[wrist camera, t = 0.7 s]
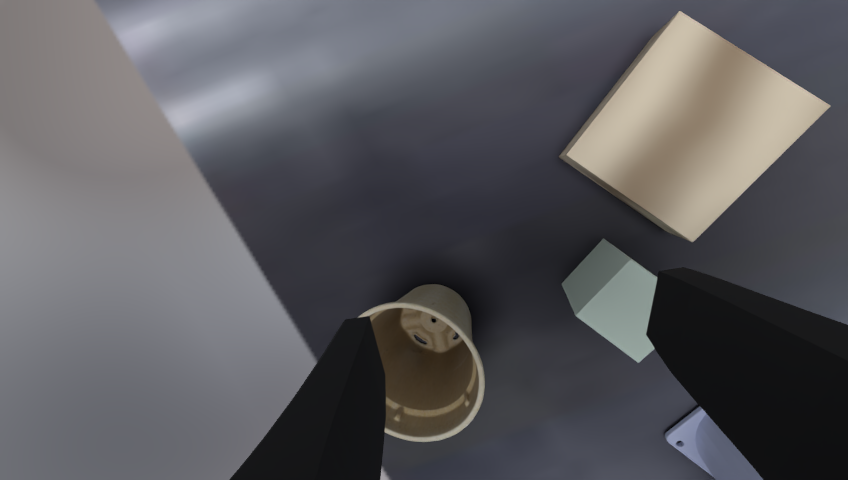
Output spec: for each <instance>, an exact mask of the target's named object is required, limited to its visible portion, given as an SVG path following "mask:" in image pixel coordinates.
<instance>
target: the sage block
mask: <svg viewBox="0 0 848 480" xmlns="http://www.w3.org/2000/svg"><path fill="white" fill-rule="evenodd" d="M657 278H658V277H656V276H655V275H653V274H652V273H651V272H649V271H648V270H647V269H645V268H644V267H642V266H641V265H640V264H638V263H637V262H636V261H634V260H633V259H631V258H630V257H629V256H627V255H626V254H624V253H623V252H622V251H620V250H619V249H618V248H616V247H615V246H613V245H612V244H611V243H609V242H608V241H607V240H605V239H604V238H603V239H602V240H601V242H600V243H599V244H598V245H597V246H596V247H595V248H594V249H593V250H592V251H591V252H590V253H589V255H588V256H587V257H586V258H585V259H584V260H583V261H582V262H581V263H580V264H579V265H578V266H577V267H576V269H575V270H574V271H573V272H572V273H571V274H570V275H569V276H568V277H567V278H566V279H565V280H564V281H563V283H562V286H563V289H564V291H565V293H566V296H567V298H568V300H569V302H570V305H571V307H572V309H573V311H574V314H575V316H576V317H578V318H579V319H580V320H582V321H583V322H584V323H586V324H587V325H588V326H590V327H591V328H592V329H594V330H595V331H596V332H598V333H599V334H600V335H602V336H603V337H604V338H606V339H607V340H608V341H610V342H611V343H612V344H614V345H615V346H616V347H618V348H619V349H620V350H622V351H623V352H624V353H626V354H627V355H628V356H630V357H631V358H632V359H634V360H635V361H636V362H638V363H639V362H640V361H641V360H642V359H643V358H645V357H646V356H647V355H648V354H649V353H650V352H651V351H653V350H654V349H655V348H654V346H653V345H652V343H651V342H650V340H649V338H648V337H647V335H646V332H647V327H648V322H649V317H650V312H651V307H652V302H653V298H654V293H655V288H656V283H657Z"/></svg>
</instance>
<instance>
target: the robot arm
mask: <svg viewBox="0 0 848 480" xmlns="http://www.w3.org/2000/svg"><path fill="white" fill-rule="evenodd" d="M646 335H647V337H648V338H649V340H650V342H651V343H652V345H653V346H654V348H655V349H656V351H657V353H658V354H659V356H660V357H661V358H662V360H663V361H664V363H665V364H666V366H667V367H668V368H669V370H670V371H671V373H672V374H673V375H674V376H675V377H676V379H677V380H678V381H679V382H680V383H681V385H682V386H683V387H684V388H685V389H686V390H687V392H688V393H689V394H690V395H691V396H692V397H693V399H694V400H695V401H696V402H697V403H698V404H699V407H698V408H697V409H696V410H694V411H693V412H692V413H690V414H689V415H688V416H687V417H685V418H684V419H683V420H681V421H680V422H679V423H678V424H676V425H675V426H674V427H672V428H671V429H670V430H669V431H667V432H666V433H665V438H666V440H667V441H668V443H670V444H671V445H672V446H673V447H675V448H676V449H677V450H679V451H680V452H681V453H683V454H684V455H685V456H687V457H688V458H689V459H690V460H692V461H693V462H694V463H696V464H697V465H698V466H700V467H701V468H702V469H704V470H705V471H706V472H707V473H709V474H710V475H711V476H713V477H714V478H715V480H848V325H846V324H843V323H841V322H838V321H835V320H832V319H829V318H826V317H823V316H821V315H818V314H815V313H812V312H809V311H806V310H804V309H801V308H798V307H795V306H793V305H790V304H787V303H784V302H782V301H779V300H776V299H773V298H771V297H768V296H765V295H763V294H760V293H757V292H754V291H752V290H749V289H746V288H743V287H741V286H738V285H735V284H732V283H730V282H727V281H724V280H721V279H718V278H716V277H713V276H710V275H707V274H704V273H701V272H697V271H694V270H691V269H687V268H684V267H683V268H677V269H670V270H664V271H659V273H658V278H657V283H656V288H655V293H654V298H653V302H652V307H651V312H650V317H649V322H648V327H647V332H646ZM385 421H386V381H385V371H384V368H383V364H382V360H381V357H380V353H379V349H378V346H377V342H376V338H375V335H374V331H373V327H372V324H371V320H370V316H366V317H359V318H353V319H346V320H345V321H344V322H343V323H342V325H341V326H340V328H339V329H338V331H337V332H336V334H335V336H334V337H333V339H332V340H331V342H330V344H329V345H328V347H327V348H326V350H325V352H324V353H323V355H322V356H321V358H320V359H319V361H318V362H317V364H316V366H315V367H314V369H313V370H312V371H311V373H310V374H309V376H308V377H307V379H306V380H305V382H304V384H303V385H302V386H301V388H300V389H299V391H298V392H297V394H296V395H295V397H294V398H293V399H292V401H291V402H290V404H289V405H288V406H287V408H286V409H285V410H284V411H283V413H282V414H281V416H280V417H279V418H278V419H277V421H276V422H275V424H274V425H273V426H272V428H271V429H270V430H269V432H268V433H267V434H266V436H265V437H264V438H263V440H262V441H261V442H260V443H259V444H258V446H257V447H256V448H255V450H254V451H253V452H252V453H251V455H250V456H249V457H248V458H247V459H246V461H245V462H244V463H243V464H242V466H241V467H240V468H239V469H238V470H237V472H236V473H235V474H234V475H233V476H232V477H231V479H230V480H380V476H381V465H382V454H383V444H384V432H385ZM677 441H681V442H680V443H676V442H677Z"/></svg>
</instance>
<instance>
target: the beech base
mask: <svg viewBox="0 0 848 480" xmlns="http://www.w3.org/2000/svg"><path fill="white" fill-rule="evenodd" d="M829 107H830V105H828V104H827V103H825V102H824V101H822V100H820V99H819V98H817V97H816V96H814V95H813V94H811V93H809V92H808V91H806V90H805V89H803V88H801V87H800V86H798V85H797V84H795V83H793V82H792V81H790V80H789V79H787V78H785V77H784V76H782V75H781V74H779V73H778V72H776V71H774V70H773V69H771V68H770V67H768V66H766V65H765V64H763V63H762V62H760V61H758V60H757V59H755V58H754V57H752V56H751V55H749V54H747V53H746V52H744V51H743V50H741V49H739V48H738V47H736V46H735V45H733V44H731V43H730V42H728V41H727V40H725V39H723V38H722V37H720V36H719V35H717V34H716V33H714V32H712V31H711V30H709V29H708V28H706V27H704V26H703V25H701V24H700V23H698V22H696V21H695V20H693V19H692V18H690V17H689V16H687V15H685V14H684V13H682V12H681V11H679V12H678V13H677V14H676V15H675V16H674V17H673V18H672V19H671V20H670V21H669V22H668V23H666V24H665V25H664V26H663V27H662V28H661V29H660V30H659V31H658V32H657V33H656V34H655V35H654V36H653V37H652V38H651V39H650V41H649V42H648V43H647V44H646V46H645V47H644V48H643V49H642V51H641V52H640V53H639V55H638V56H637V57H636V58H635V60H634V61H633V62H632V64H631V65H630V66H629V67H628V69H627V70H626V71H625V72H624V74H623V75H622V76H621V78H620V79H619V80H618V81H617V83H616V84H615V85H614V87H613V88H612V89H611V90H610V92H609V93H608V94H607V95H606V97H605V98H604V99H603V101H602V102H601V103H600V104H599V106H598V107H597V108H596V110H595V111H594V112H593V113H592V115H591V116H590V117H589V118H588V120H587V121H586V122H585V124H584V125H583V126H582V127H581V129H580V130H579V131H578V133H577V134H576V135H575V136H574V138H573V139H572V140H571V141H570V143H569V144H568V145H567V147H566V148H565V149H564V150H563V152H562V153H561V154H560V155H559V158H561V159H562V160H564V161H565V162H566V163H568V164H569V165H571V166H572V167H574V168H575V169H577V170H578V171H579V172H581V173H582V174H584V175H585V176H587V177H588V178H590V179H591V180H592V181H594V182H595V183H597V184H598V185H600V186H601V187H603V188H604V189H605V190H607V191H608V192H610V193H611V194H613V195H614V196H616V197H617V198H618V199H620V200H621V201H623V202H624V203H626V204H627V205H629V206H630V207H631V208H633V209H634V210H636V211H637V212H639V213H640V214H642V215H643V216H644V217H646V218H647V219H649V220H650V221H652V222H653V223H655V224H656V225H657V226H659V227H660V228H662V229H663V230H665V231H666V232H669V233H671V234H674V235H676V236H679V237H681V238H683V239H686V240H688V241H691V242H694V241H695V240H696V239H697V238H698V237H699V236H700V235H701V234H702V233H703V232H704V231H705V230H706V229H707V228H708V227H709V226H710V225H711V224H712V223H713V222H714V221H715V220H716V219H717V218H718V217H719V216H720V215H721V214H722V213H723V212H724V211H725V210H726V209H727V208H728V207H729V206H730V205H731V204H732V203H733V202H734V201H735V200H736V199H737V198H738V197H739V196H740V195H741V194H742V193H743V192H744V191H745V190H746V189H747V188H748V187H749V186H750V185H751V184H752V183H753V182H754V181H755V180H756V179H757V178H758V177H759V176H760V175H761V174H762V173H763V172H764V171H765V170H766V169H767V168H768V167H769V166H770V165H771V164H772V163H773V162H774V161H775V160H776V159H777V158H779V157H780V156H781V155H782V154H783V153H784V152H785V151H786V150H787V149H788V148H789V147H790V146H791V145H792V144H793V143H794V142H795V141H796V140H797V139H798V138H799V137H800V136H801V135H802V134H803V133H804V132H805V131H806V130H807V129H808V128H809V127H810V126H811V125H812V124H813V123H814V122H815V121H816V120H817V119H818V118H819V117H820V116H821V115H822V114H823V113H824V112H825V111H826V110H827V109H828V108H829Z"/></svg>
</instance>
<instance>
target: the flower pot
mask: <svg viewBox="0 0 848 480" xmlns="http://www.w3.org/2000/svg"><path fill="white" fill-rule="evenodd" d="M366 316H370V320H371V324H372V327H373V331H374V335H375V338H376V342H377V346H378V349H379V353H380V357H381V360H382V364H383V368H384V371H385V381H386V421H385V432H386V433H387V434H390V435H392V436H395V437H398V438H401V439H405V440H410V441H416V442H417V441H418V442H429V441H438V440H442V439H445V438H448V437H451V436H453V435H455V434H457V433H458V432H460V431H461V430H462V429H464V428H465V427H466V426H468V424H469V423H470V422H471V421H472V420H473V418H474V417H475V415H476V414H477V412H478V410H479V408H480V406H481V403H482V401H483V396H484V389H485V376H484V369H483V364H482V361H481V358H480V356H479V353H478V351H477V349H476V347H475V345H474V344H473V341H472V327H471V323H472V321H471V314H470V311H469V308H468V306H467V304H466V303H465V301H464V300H463V299H462V297H461V296H460V295H459V294H457V293H456V292H455V291H453V290H452V289H450V288H448V287H445V286H443V285H438V284H429V285H422V286H419V287H416V288H414V289H413V290H411V291H410V292H409V293H408V294H406V295H405V296H403V297H402V298H400V299H399V300H397V301H396V302H390V303H385V304H382V305H379V306H376V307H374V308H372V309H370V310H368V311H366V312H364V313H363V314H361V315H360V316H359V317H366ZM359 317H358V318H359ZM432 318H435V319H436V322H432ZM455 332H456V333H458V334H459V337H458V338H457V339H453V337H454V336H455V335H456V333H455ZM414 335H417V336H418V337H420V338H421V339H422V340H424V341H426V342H427V344H424V343H421V342H419V341H418V340H416V338H415V336H414Z"/></svg>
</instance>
